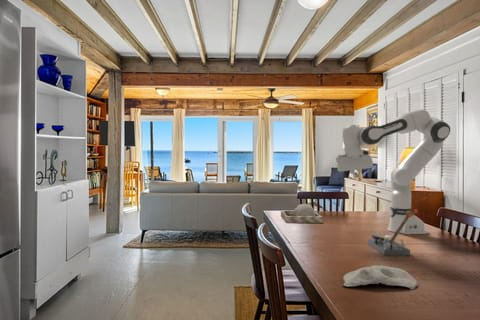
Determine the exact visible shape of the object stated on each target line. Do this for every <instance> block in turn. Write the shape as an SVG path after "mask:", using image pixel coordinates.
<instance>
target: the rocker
mask: <svg viewBox="0 0 480 320" xmlns="http://www.w3.org/2000/svg"><path fill="white" fill-rule="evenodd" d="M371 239H377V240H378V239H381V241H384V239H385V237H383V236H379V235H375V234H371Z"/></svg>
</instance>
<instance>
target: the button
mask: <svg viewBox="0 0 480 320" xmlns="http://www.w3.org/2000/svg"><path fill="white" fill-rule="evenodd" d="M392 237H393V235H392V236H391V235H384V239H385V241H387V242H389V240H391V239H392Z"/></svg>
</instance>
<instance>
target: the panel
mask: <svg viewBox="0 0 480 320" xmlns="http://www.w3.org/2000/svg"><path fill="white" fill-rule="evenodd" d="M389 242H390V240H389ZM389 242H387V241H385V238H384V241H381V239H378V240H377V239H373V238H370V239H369V238H368V239H367V245H368V246H370V247H371V248H373V249H375V250H376V251H377V252H378V253H380V254H382V255H383V256H410V255H411V249H409V248H408V247H405V248H404V249H403V248H402V244H401V243H399V242H396V241H395V240H394V241H393V243H392V245H391V246H390V243H389Z"/></svg>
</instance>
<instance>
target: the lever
mask: <svg viewBox="0 0 480 320" xmlns="http://www.w3.org/2000/svg"><path fill="white" fill-rule="evenodd" d="M412 216H413V212H412V211H407V212H406V217H405V219H404V220H403V222H402V223H401V225H400V226H399V228H398V229H397V231H396V232H394V234H393V235H392V239H391V240H390V242H389V243H390V246H391V245H392V243H393V241H395V240H396V239H397V237H398V235H399V234H400V233H399V232H400V230H401V229H402V227H403V226H404V224H405V223H406V221H407V220H408V218H410V217H412Z"/></svg>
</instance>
